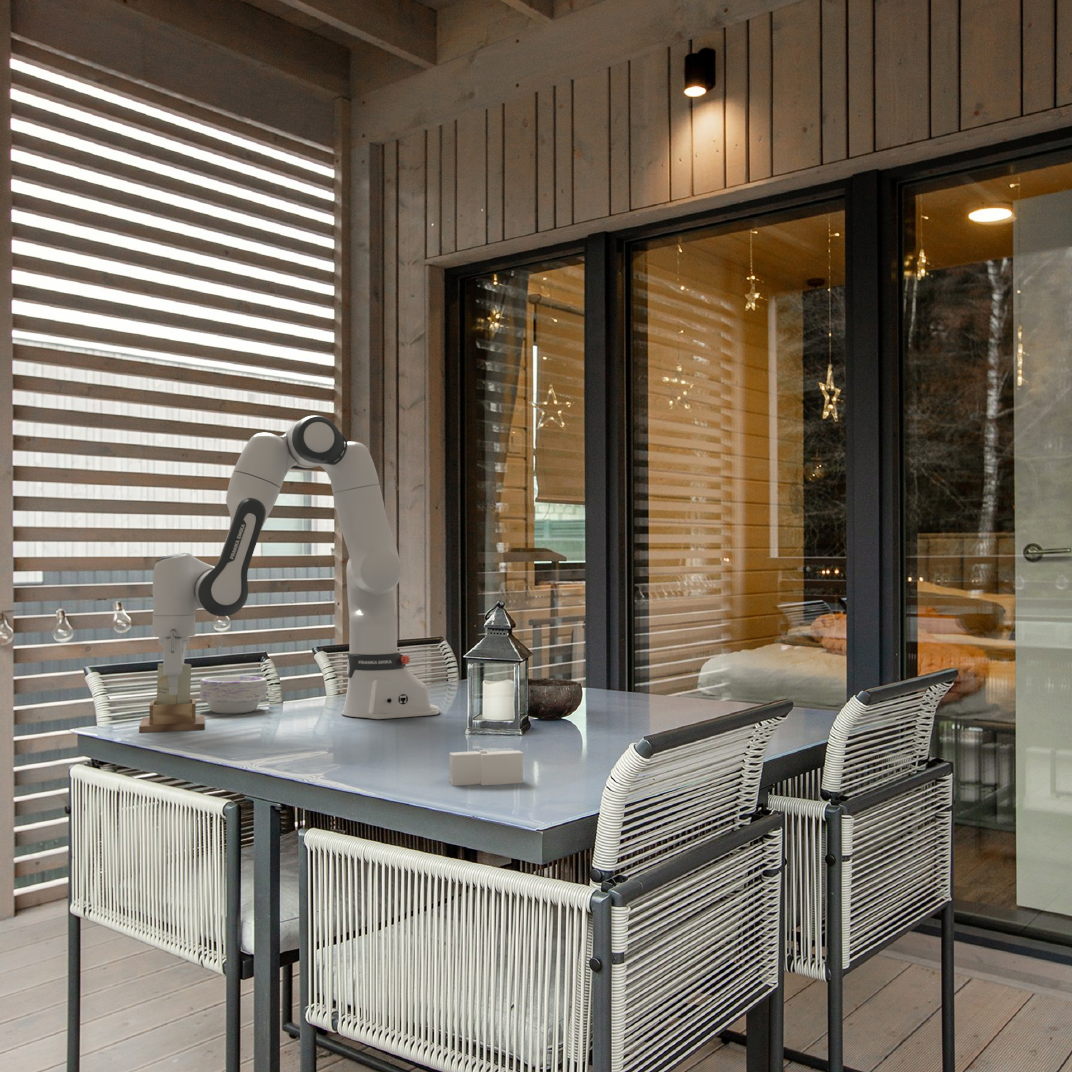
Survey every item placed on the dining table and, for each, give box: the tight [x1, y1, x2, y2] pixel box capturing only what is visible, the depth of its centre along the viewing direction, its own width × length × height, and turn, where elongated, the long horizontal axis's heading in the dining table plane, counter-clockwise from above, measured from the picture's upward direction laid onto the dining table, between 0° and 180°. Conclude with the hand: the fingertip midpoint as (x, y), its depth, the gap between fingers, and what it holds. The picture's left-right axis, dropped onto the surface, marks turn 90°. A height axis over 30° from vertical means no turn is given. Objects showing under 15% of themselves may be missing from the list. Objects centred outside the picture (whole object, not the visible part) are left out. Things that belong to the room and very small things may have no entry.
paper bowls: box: [199, 675, 268, 715], centre depth 251 cm, size 15×15×8 cm
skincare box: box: [156, 662, 192, 705], centre depth 229 cm, size 6×4×12 cm
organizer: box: [138, 698, 206, 733], centre depth 228 cm, size 13×13×5 cm
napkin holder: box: [448, 749, 524, 787], centre depth 172 cm, size 15×11×6 cm
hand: (174, 692), depth 229 cm, fingers closed on skincare box, 7 cm apart
